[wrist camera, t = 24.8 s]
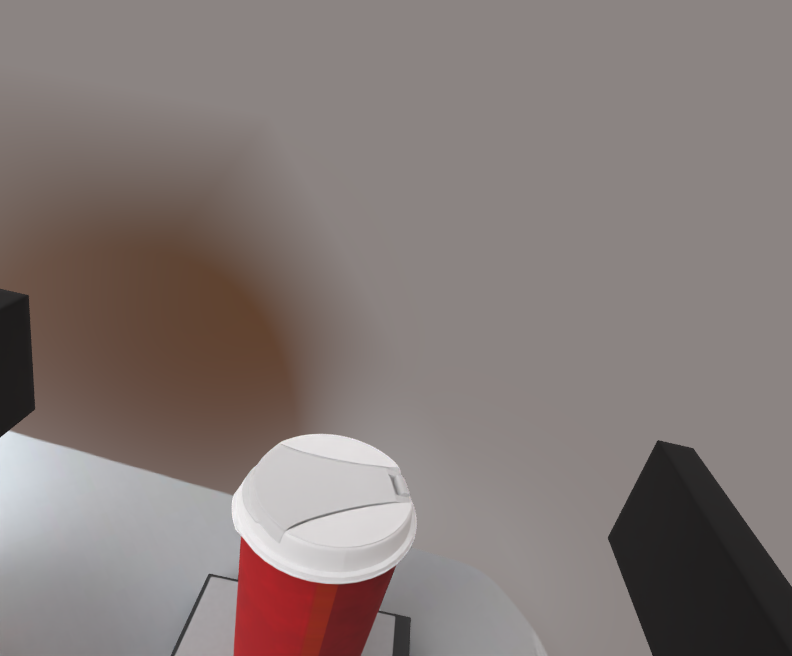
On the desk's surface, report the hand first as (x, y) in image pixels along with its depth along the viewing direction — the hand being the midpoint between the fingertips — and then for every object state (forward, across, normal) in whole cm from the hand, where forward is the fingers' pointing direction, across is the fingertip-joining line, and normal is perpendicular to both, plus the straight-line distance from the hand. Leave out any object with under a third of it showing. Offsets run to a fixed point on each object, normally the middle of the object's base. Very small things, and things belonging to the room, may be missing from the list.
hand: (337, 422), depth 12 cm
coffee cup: (+10, 0, -25) cm, 27 cm away
